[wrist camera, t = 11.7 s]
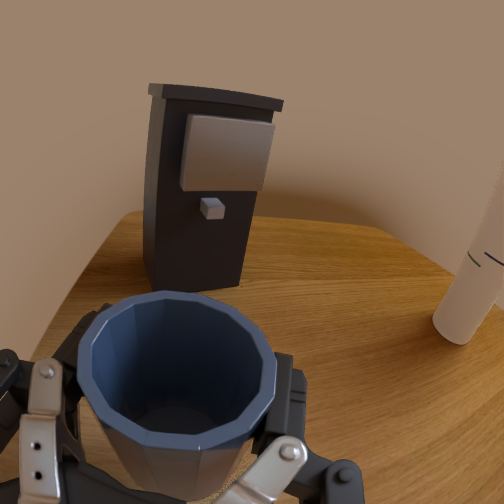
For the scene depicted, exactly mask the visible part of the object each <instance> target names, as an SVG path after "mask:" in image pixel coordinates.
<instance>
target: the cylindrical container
mask: <svg viewBox="0 0 504 504" xmlns="http://www.w3.org/2000/svg"><path fill="white" fill-rule="evenodd" d="M503 287H504V159H503V162H502V165H501V169H500V172H499V175H498V178H497V182H496V185H495V187H494V190H493V193H492V196H491V198H490V201H489V203H488V206H487V209H486V211H485V214H484V216H483V219H482V221H481V224H480V226H479V228H478V231H477V233H476V235H475V237H474V239H473V242H472V244H471V246H470V248H469V251H468V252H467V254H466V257H465V258H464V260H463V262H462V264H461V266H460V268H459V270H458V272H457V274H456V276H455V278H454V280H453V282H452V283H451V285H450V287H449V289H448V291H447V292H446V294H445V296H444V298H443V299H442V301H441V303H440V304H439V306H438V308H437V309H436V311H435V313H434V314H433V317H432V320H433V324H434V326H435V328H436V329H437V331H438V332H439V333H440V334H441V335H442V336H443V337H445V338H446V339H447V340H449V341H451V342H453V343H455V344H460V345H463V344H466V343H467V342H468V341H469V340H470V339H471V337H472V336H473V334H474V333H475V332H476V330H477V329H478V327H479V326H480V324H481V323H482V321H483V320H484V318H485V317H486V315H487V314H488V312H489V311H490V309H491V307H492V306H493V304H494V303H495V301H496V299H497V298H498V296H499V294H500V293H501V291H502V289H503Z"/></svg>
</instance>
